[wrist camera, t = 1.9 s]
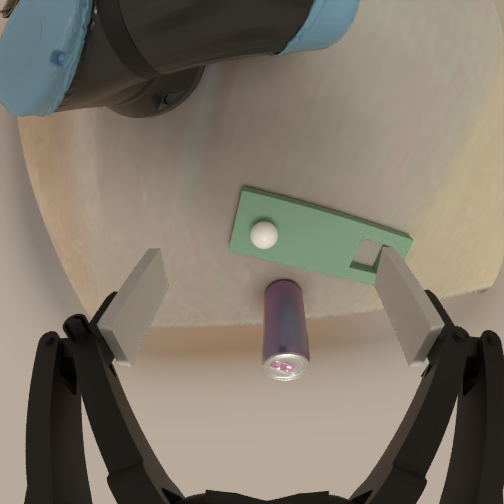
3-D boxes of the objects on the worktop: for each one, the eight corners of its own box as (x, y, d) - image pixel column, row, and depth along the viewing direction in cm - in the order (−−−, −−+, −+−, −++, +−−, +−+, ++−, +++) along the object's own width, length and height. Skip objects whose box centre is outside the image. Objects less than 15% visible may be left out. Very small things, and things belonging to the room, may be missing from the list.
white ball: (248, 237, 37) (246, 250, 34) (254, 214, 35) (253, 225, 32) (273, 243, 37) (273, 256, 34) (280, 220, 35) (281, 232, 32)
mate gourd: (53, 5, 19) (15, -1, 10) (27, 32, 21) (-11, 31, 12) (49, -15, 16) (15, -22, 7) (24, 11, 17) (-10, 8, 9)
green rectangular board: (230, 244, 40) (228, 251, 38) (243, 186, 35) (242, 190, 33) (384, 281, 41) (388, 288, 39) (408, 234, 37) (413, 240, 35)
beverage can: (274, 273, 42) (274, 348, 28) (308, 285, 42) (320, 360, 29) (259, 300, 44) (254, 375, 31) (291, 311, 45) (296, 385, 32)
